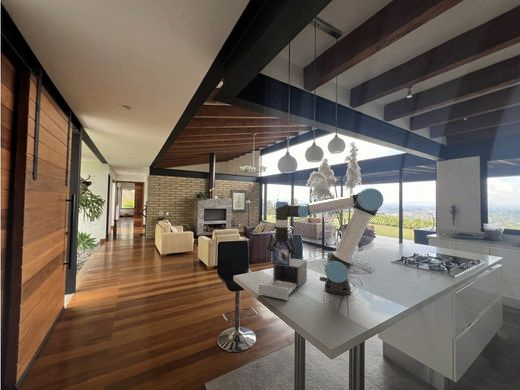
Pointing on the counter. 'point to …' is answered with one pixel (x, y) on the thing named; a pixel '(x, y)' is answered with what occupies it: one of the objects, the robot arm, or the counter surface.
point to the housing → (291, 272)
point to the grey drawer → (277, 289)
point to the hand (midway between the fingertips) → (281, 262)
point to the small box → (280, 255)
